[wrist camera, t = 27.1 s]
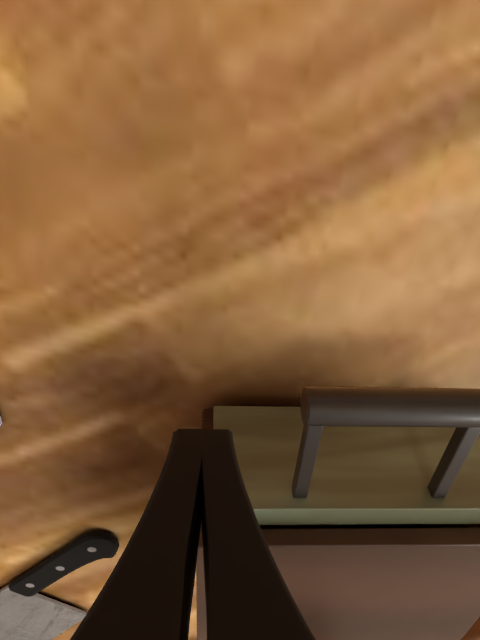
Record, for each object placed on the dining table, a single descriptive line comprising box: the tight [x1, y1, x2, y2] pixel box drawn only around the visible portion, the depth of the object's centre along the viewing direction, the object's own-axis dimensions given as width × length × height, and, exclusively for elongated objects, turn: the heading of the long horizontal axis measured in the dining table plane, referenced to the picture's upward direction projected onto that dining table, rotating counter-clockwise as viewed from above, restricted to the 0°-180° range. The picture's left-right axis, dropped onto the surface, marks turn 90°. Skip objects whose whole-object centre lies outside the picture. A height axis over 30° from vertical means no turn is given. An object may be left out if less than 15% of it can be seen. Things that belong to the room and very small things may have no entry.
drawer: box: [213, 386, 480, 529], centre depth 23 cm, size 19×13×6 cm
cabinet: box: [196, 409, 480, 640], centre depth 26 cm, size 15×15×8 cm
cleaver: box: [0, 532, 119, 640], centre depth 37 cm, size 29×1×10 cm
